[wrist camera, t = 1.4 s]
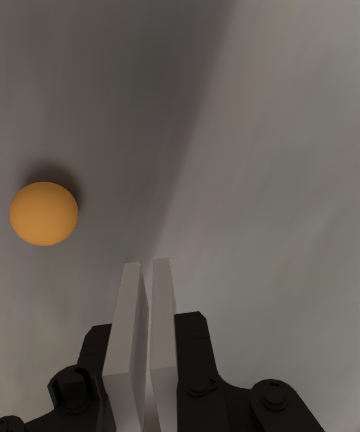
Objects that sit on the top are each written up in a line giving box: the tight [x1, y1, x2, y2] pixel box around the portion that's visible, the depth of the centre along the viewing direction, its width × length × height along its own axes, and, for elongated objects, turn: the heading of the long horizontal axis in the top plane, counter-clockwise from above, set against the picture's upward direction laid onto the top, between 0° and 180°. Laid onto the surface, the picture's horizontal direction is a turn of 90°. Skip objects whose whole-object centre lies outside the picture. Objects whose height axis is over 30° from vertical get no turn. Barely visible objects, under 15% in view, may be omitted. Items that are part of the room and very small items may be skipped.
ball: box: [9, 182, 78, 246], centre depth 28 cm, size 6×6×6 cm
